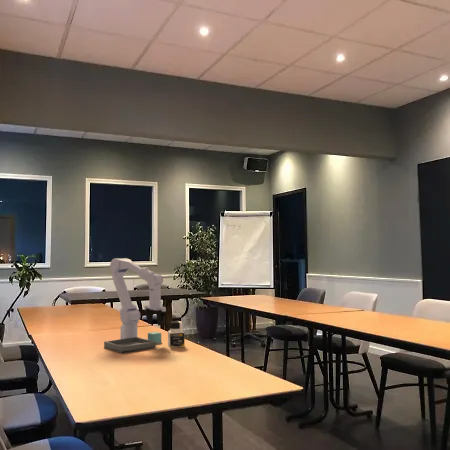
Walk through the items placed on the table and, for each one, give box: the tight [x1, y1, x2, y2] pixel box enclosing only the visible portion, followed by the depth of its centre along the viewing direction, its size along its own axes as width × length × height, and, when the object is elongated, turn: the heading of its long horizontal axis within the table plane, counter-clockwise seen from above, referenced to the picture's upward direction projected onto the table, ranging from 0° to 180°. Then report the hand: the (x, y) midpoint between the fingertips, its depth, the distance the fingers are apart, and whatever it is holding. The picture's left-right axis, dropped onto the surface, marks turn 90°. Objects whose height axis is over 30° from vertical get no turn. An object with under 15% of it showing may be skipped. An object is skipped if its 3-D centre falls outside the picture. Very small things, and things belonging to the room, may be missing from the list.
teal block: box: [147, 331, 162, 344], centre depth 237 cm, size 5×5×5 cm
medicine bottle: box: [167, 320, 186, 349], centre depth 228 cm, size 7×7×12 cm
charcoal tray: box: [103, 336, 157, 354], centre depth 224 cm, size 18×18×3 cm
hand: (154, 324), depth 235 cm, fingers open, 7 cm apart
